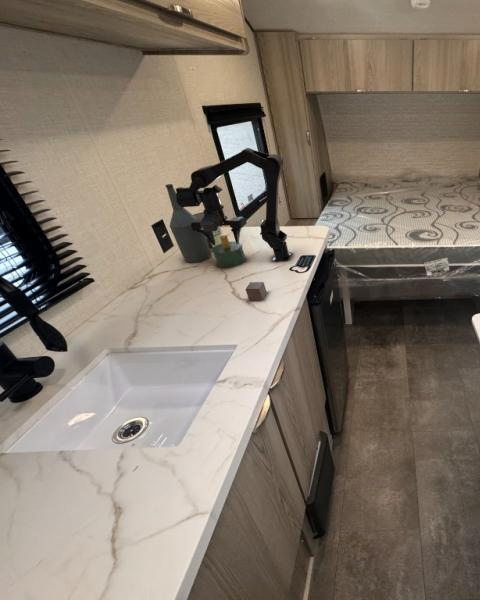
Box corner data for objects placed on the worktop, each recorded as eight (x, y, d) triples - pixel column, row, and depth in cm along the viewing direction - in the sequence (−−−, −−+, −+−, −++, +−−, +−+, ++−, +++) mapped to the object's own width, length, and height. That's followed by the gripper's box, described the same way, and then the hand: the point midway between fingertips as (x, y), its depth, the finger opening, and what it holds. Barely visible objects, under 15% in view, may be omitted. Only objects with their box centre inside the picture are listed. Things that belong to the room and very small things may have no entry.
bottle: (180, 263, 132) (146, 188, 115) (191, 253, 140) (161, 181, 124) (206, 262, 132) (176, 187, 116) (216, 252, 141) (189, 180, 124)
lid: (220, 244, 134) (215, 231, 131) (247, 243, 134) (243, 230, 131) (207, 256, 125) (202, 242, 122) (236, 255, 125) (231, 241, 122)
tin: (224, 256, 137) (220, 243, 133) (249, 255, 137) (245, 242, 133) (213, 268, 128) (208, 254, 125) (240, 267, 128) (235, 253, 125)
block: (253, 293, 111) (250, 282, 108) (267, 292, 111) (263, 281, 109) (249, 300, 107) (245, 289, 105) (262, 300, 107) (259, 288, 105)
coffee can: (200, 252, 141) (188, 221, 133) (201, 244, 148) (189, 214, 141) (226, 247, 144) (215, 216, 136) (226, 239, 152) (215, 210, 144)
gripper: (175, 213, 113) (192, 254, 121) (228, 211, 113) (242, 252, 121) (191, 203, 122) (206, 242, 131) (240, 201, 122) (252, 240, 131)
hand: (226, 244), depth 128 cm, fingers open, 9 cm apart
